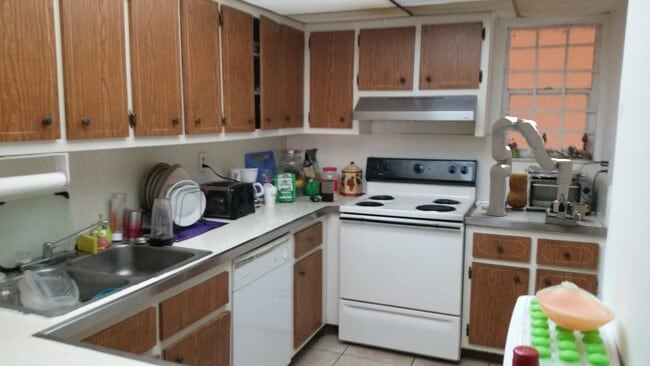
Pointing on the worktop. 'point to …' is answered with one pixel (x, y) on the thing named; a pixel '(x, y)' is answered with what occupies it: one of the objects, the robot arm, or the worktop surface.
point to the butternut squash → (517, 190)
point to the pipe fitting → (566, 221)
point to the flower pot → (580, 209)
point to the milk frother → (325, 191)
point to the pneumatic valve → (568, 209)
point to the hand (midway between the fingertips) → (561, 210)
